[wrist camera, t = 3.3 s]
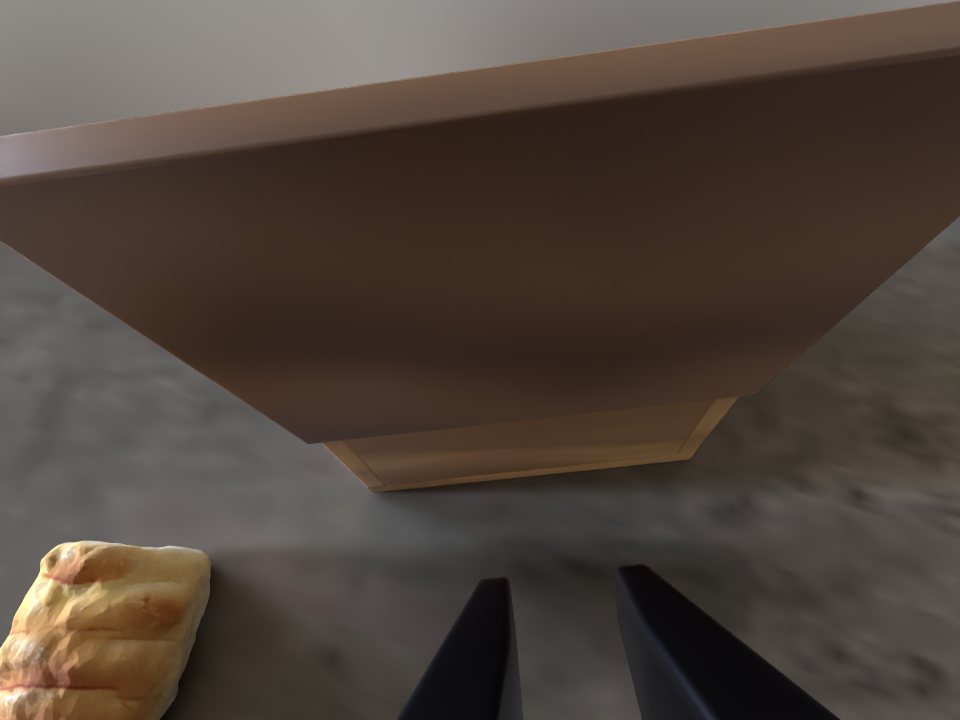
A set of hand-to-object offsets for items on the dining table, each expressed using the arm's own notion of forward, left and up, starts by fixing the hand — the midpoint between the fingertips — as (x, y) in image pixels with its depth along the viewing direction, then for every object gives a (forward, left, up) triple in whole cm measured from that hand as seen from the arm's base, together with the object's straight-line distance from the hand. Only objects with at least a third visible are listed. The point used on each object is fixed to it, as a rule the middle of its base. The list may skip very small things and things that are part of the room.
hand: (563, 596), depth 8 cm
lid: (+5, -3, -1) cm, 6 cm away
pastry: (+9, +14, -14) cm, 21 cm away
